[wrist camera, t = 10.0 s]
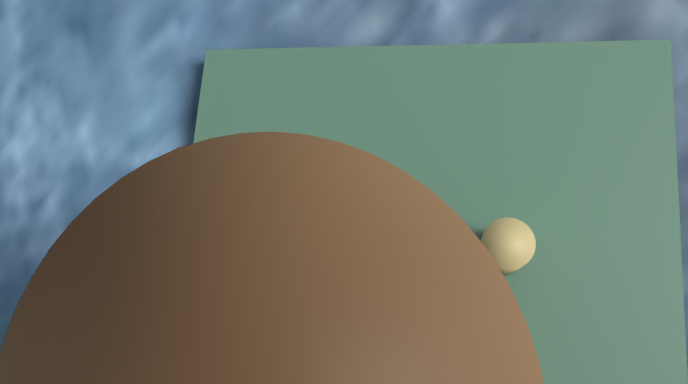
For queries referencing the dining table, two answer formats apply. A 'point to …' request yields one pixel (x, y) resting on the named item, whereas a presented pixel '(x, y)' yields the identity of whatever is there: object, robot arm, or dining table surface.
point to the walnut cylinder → (268, 278)
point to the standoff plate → (511, 172)
